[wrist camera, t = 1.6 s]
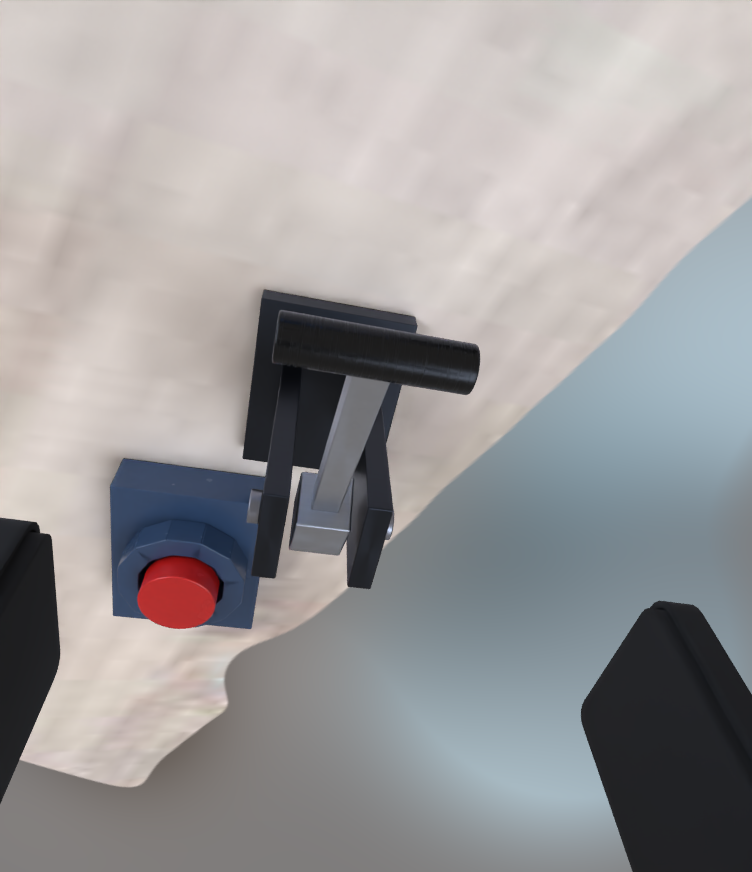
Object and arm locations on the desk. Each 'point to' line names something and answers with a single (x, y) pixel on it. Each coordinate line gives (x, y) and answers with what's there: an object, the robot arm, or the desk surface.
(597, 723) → the robot arm
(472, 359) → the lever
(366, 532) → the bracket
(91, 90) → the desk surface
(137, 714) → the desk surface
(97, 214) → the desk surface
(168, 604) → the button
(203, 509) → the button box
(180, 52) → the desk surface
